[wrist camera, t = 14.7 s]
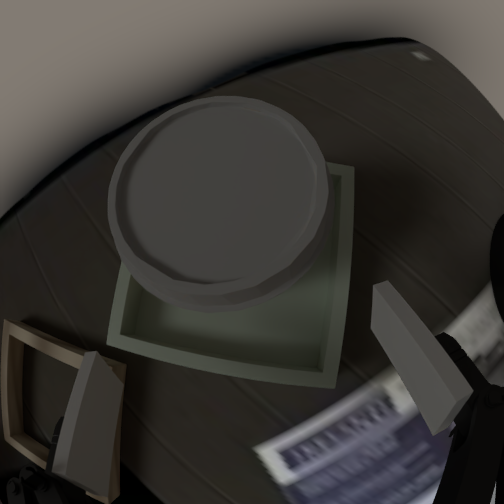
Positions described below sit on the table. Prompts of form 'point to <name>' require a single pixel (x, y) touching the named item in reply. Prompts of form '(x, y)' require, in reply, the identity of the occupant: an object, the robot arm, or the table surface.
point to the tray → (253, 317)
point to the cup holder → (12, 393)
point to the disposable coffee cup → (221, 204)
